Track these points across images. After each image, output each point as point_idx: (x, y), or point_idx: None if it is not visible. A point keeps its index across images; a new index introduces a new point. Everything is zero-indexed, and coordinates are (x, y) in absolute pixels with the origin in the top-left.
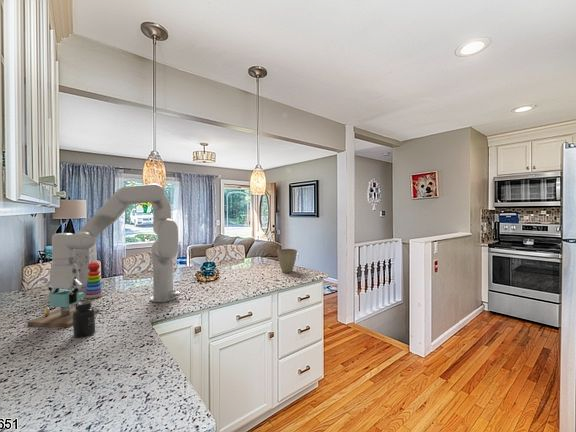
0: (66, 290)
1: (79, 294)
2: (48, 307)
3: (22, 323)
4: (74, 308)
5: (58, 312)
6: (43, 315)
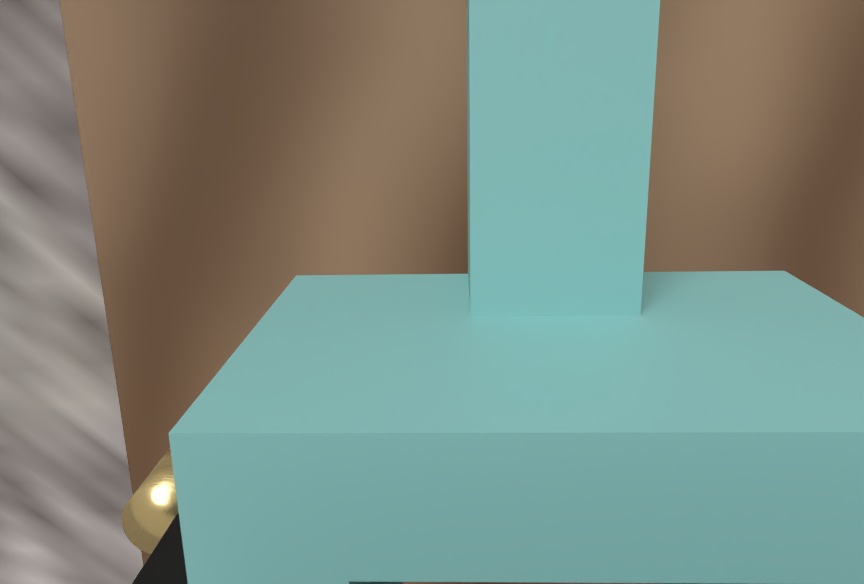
0: (401, 513)
1: (651, 20)
2: (159, 494)
3: (11, 558)
4: (390, 6)
5: (257, 262)
6: (123, 419)
